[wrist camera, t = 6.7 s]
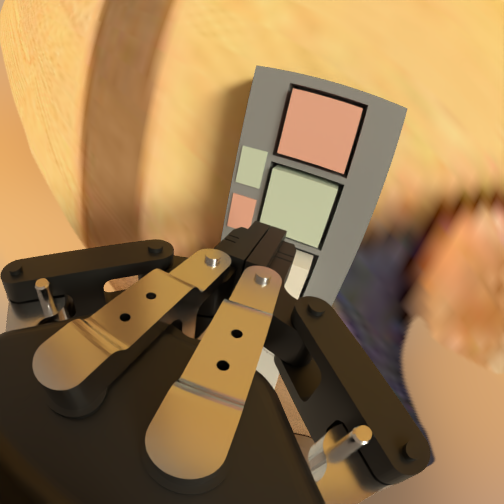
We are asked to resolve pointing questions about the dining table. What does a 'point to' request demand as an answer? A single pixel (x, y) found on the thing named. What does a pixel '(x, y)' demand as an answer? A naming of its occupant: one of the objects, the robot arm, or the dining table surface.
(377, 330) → the dining table surface
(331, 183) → the key sage
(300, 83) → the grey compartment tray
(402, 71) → the dining table surface
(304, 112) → the key coral
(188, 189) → the dining table surface
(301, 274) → the key ivory
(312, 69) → the dining table surface
